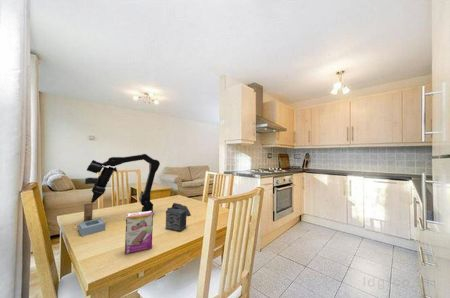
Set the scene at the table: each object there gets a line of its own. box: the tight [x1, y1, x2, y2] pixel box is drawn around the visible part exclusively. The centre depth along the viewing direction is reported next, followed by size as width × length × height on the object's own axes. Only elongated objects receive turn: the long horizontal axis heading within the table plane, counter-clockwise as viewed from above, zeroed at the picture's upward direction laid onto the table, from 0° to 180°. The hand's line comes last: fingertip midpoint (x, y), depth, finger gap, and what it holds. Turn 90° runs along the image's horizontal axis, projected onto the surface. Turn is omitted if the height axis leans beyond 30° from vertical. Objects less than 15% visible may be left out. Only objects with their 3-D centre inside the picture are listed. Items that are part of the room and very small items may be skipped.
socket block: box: [77, 217, 106, 237], centre depth 98 cm, size 10×10×4 cm
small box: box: [165, 209, 187, 233], centre depth 102 cm, size 11×6×10 cm, turn 71°
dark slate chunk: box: [167, 202, 192, 217], centre depth 130 cm, size 15×22×5 cm
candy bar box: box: [124, 211, 154, 255], centre depth 80 cm, size 11×5×16 cm, turn 118°
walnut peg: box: [83, 202, 94, 222], centre depth 105 cm, size 4×4×12 cm
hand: (92, 200), depth 104 cm, fingers open, 9 cm apart
